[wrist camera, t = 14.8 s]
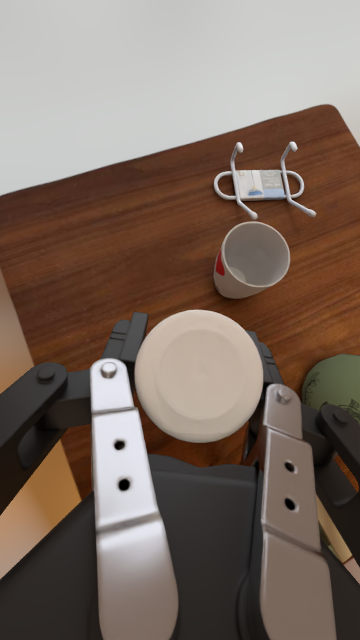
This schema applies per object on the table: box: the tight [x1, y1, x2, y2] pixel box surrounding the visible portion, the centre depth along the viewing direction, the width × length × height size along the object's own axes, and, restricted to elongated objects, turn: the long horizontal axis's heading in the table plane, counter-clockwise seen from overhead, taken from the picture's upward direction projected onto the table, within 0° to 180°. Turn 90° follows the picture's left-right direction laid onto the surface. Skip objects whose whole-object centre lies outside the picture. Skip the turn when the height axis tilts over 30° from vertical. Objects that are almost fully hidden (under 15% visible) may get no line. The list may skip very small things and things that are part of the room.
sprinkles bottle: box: [135, 310, 263, 443], centre depth 15 cm, size 5×5×13 cm
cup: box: [213, 222, 290, 299], centre depth 35 cm, size 8×8×10 cm
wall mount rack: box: [214, 142, 316, 220], centre depth 41 cm, size 16×14×6 cm
